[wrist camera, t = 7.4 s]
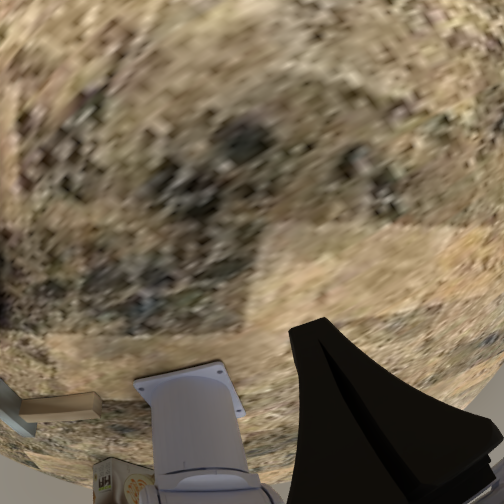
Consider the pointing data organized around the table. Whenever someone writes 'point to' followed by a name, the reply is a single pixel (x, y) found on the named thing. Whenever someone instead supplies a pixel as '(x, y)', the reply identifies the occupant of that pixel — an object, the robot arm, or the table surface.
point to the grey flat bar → (45, 409)
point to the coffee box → (119, 482)
